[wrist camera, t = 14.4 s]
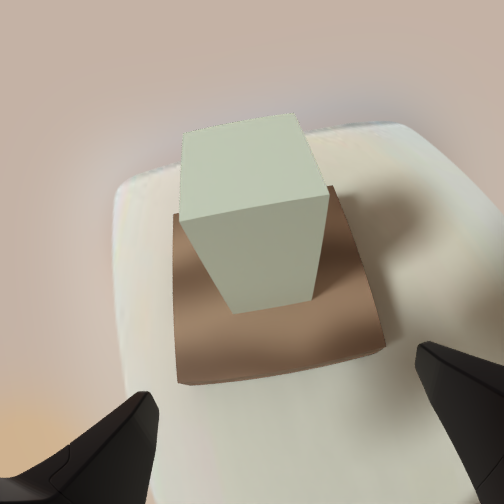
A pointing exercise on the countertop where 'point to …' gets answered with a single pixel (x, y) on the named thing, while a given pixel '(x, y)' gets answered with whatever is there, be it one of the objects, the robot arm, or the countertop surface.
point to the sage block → (254, 210)
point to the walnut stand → (274, 316)
